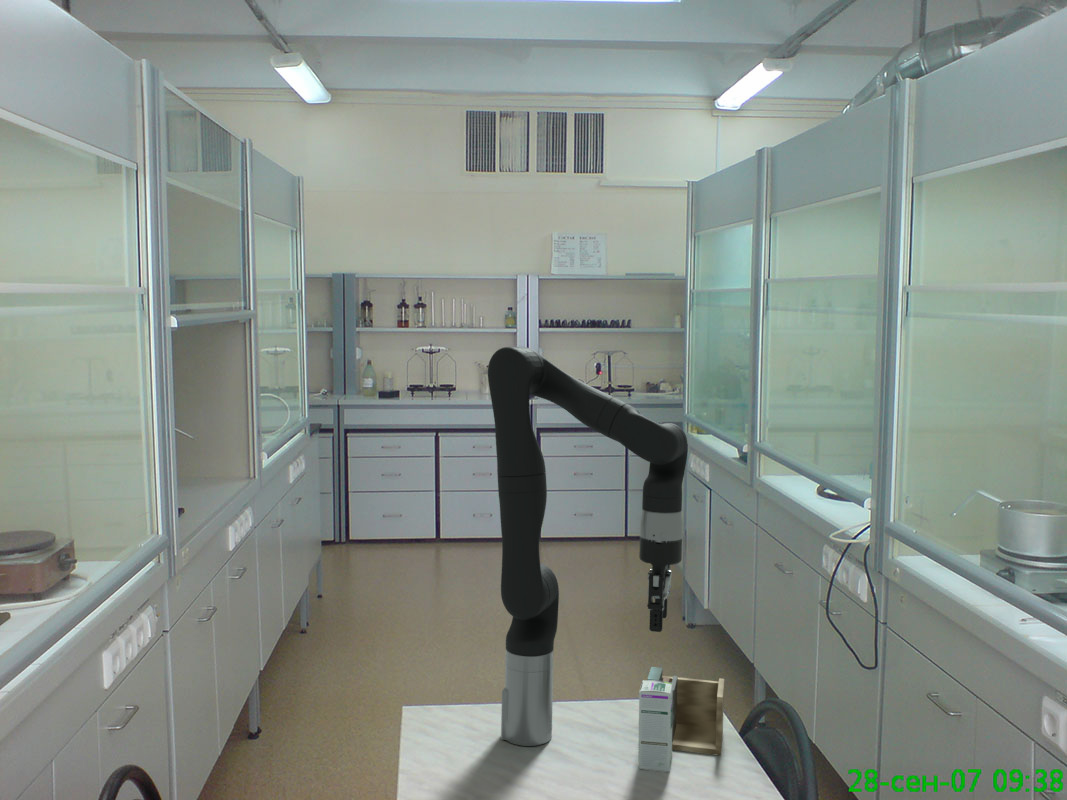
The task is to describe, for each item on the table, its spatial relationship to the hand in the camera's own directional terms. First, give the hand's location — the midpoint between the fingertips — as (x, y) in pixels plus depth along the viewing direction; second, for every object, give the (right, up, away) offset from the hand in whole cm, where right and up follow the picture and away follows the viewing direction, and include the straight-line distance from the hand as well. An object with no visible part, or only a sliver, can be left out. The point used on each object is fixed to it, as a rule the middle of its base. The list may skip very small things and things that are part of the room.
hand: (658, 624), depth 163 cm
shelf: (+6, -25, +12) cm, 29 cm away
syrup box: (0, -26, +1) cm, 26 cm away
